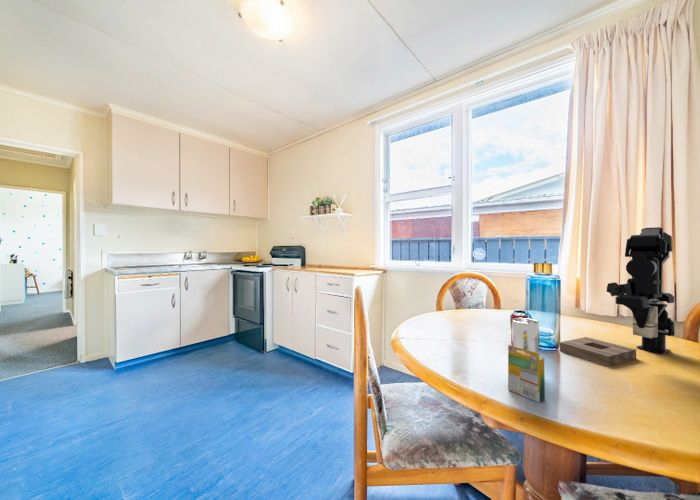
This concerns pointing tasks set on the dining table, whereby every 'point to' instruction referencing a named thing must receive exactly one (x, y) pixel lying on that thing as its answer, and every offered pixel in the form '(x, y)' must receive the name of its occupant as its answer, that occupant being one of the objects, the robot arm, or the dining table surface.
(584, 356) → the walnut board
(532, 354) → the crayon box
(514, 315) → the beverage can
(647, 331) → the maple peg
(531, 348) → the white box
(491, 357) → the dining table surface
